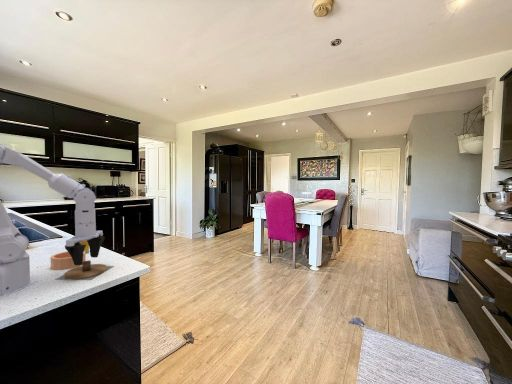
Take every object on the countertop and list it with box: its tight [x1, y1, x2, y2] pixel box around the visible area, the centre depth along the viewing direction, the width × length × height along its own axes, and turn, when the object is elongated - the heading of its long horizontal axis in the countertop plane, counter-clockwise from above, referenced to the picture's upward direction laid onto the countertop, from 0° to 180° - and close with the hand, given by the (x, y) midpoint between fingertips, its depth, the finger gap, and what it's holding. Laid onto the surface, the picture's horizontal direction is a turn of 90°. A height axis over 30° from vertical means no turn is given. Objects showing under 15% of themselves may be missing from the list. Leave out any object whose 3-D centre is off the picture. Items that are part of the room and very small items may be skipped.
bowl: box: [50, 250, 87, 271], centre depth 86 cm, size 10×10×4 cm
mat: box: [54, 265, 115, 281], centre depth 79 cm, size 12×12×1 cm
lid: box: [63, 260, 108, 281], centre depth 79 cm, size 12×12×4 cm
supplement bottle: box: [75, 235, 90, 255], centre depth 100 cm, size 5×5×10 cm
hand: (86, 260), depth 79 cm, fingers open, 7 cm apart
